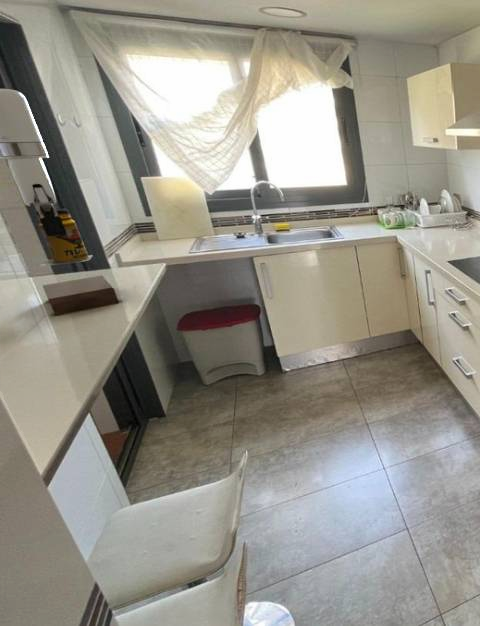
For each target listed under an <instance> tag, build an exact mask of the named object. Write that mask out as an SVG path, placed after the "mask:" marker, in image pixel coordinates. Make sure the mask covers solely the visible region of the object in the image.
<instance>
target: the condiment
mask: <svg viewBox="0 0 480 626" xmlns="http://www.w3.org/2000/svg"><path fill="white" fill-rule="evenodd" d="M55 209H56V211H57V214H58V216H59V217H60V218H61V220H62V223H63V225H64V228H65V230H66V234H65V235H56V236H47V235H46V233H45V230H44V228H43V225H42V223H41V221H40V218H41V217H40V214H39V212H38V211H37V210H36V212H35V214H36V216H37V220H38V221H39V223H38V227H39V230H40V232H41V234H42V237H43V239H44V241H45V244H46V247H47V249H48V251H49V254H50V255H51V259H46V260H44V261H43V262H42V263H41V264H40V265H39V266H38V267H39V268H40V267H48V266H55V265H66V264H67V265H68V264H73V263H81V262H88V261H91V260H92V258H93V256H94V255H92V254H91V255H89V253H88V251H87V248H86V245H85V244H84V240H83V238H82V236H81V233H80V230H79V227H78V225H77V223H76V221H75V220H74V219H72V215H71V213H70V210H69V209H67V208H55ZM42 213H43V212H42ZM44 218H45V217H44Z"/></svg>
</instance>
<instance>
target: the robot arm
mask: <svg viewBox="0 0 480 626" xmlns="http://www.w3.org/2000/svg"><path fill="white" fill-rule="evenodd" d="M35 120H36V119H34V115H33V113H32V110H31V108H30V106H29V102H28V100H27V98H26V96H25V95H24V94H23V93H22V92H20V91H19V90H15V89H11V88H10V89H9V88H0V160H6V161H7V165H8V168H9V170H10V173H11V176H12V179H13V181H14V183H15V186H16V188H17V190H18V192H19V194H20V197H21V199H22V201H23V203H24V205H25V206H27V207H31V204H33V205H34V207H35V211H36V212H37V211H38V212H39V214H40V217H41V218H40V221H41V223H42V225H43V228H44V230H45V233H46V235H47V236H56V235H65V234H66V230H65V228H64V225H63V223H62V220H61V218H60V217H59V216H58V214H57V211H56V209H57V208H56V207H55V204H57V198H56V197H57V196H56V194H55V191H54V187H53V183H52V180H51V178H50V175H49V173H48V171H47V168H46V165H45V162H44V161H43V159H49V158H50V156H49V154H48V151H47V149H46V145H45V143H44V142H43V138H42V135H41V134H40V131H39V128H38V125H37V124H36V121H35ZM42 212H43V213H42ZM44 217H45V218H44ZM40 221H39V222H40Z"/></svg>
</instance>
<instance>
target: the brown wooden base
mask: <svg viewBox="0 0 480 626" xmlns="http://www.w3.org/2000/svg"><path fill="white" fill-rule="evenodd" d="M42 288H43V291H44V293H45V295H46V298H47V300H48V304H49V305H50V307H51V309H52V311H53V314H54V316H55V317H56V316H61V315H65V314H71V313H75V312H80V311H85V310H90V309H95V308H100V307H105V306H110V305H114V304H119V303H120V301H119V299H118V295H117V294H116V291H115V288H114V287H113V285H112V284H111V283H110V282H109V281H108V279H107V278H105V276H103V275H96V276H90V277H84V278H78V279H72V280H66V281H60V282H55V283H48V284H43V285H42Z"/></svg>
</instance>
